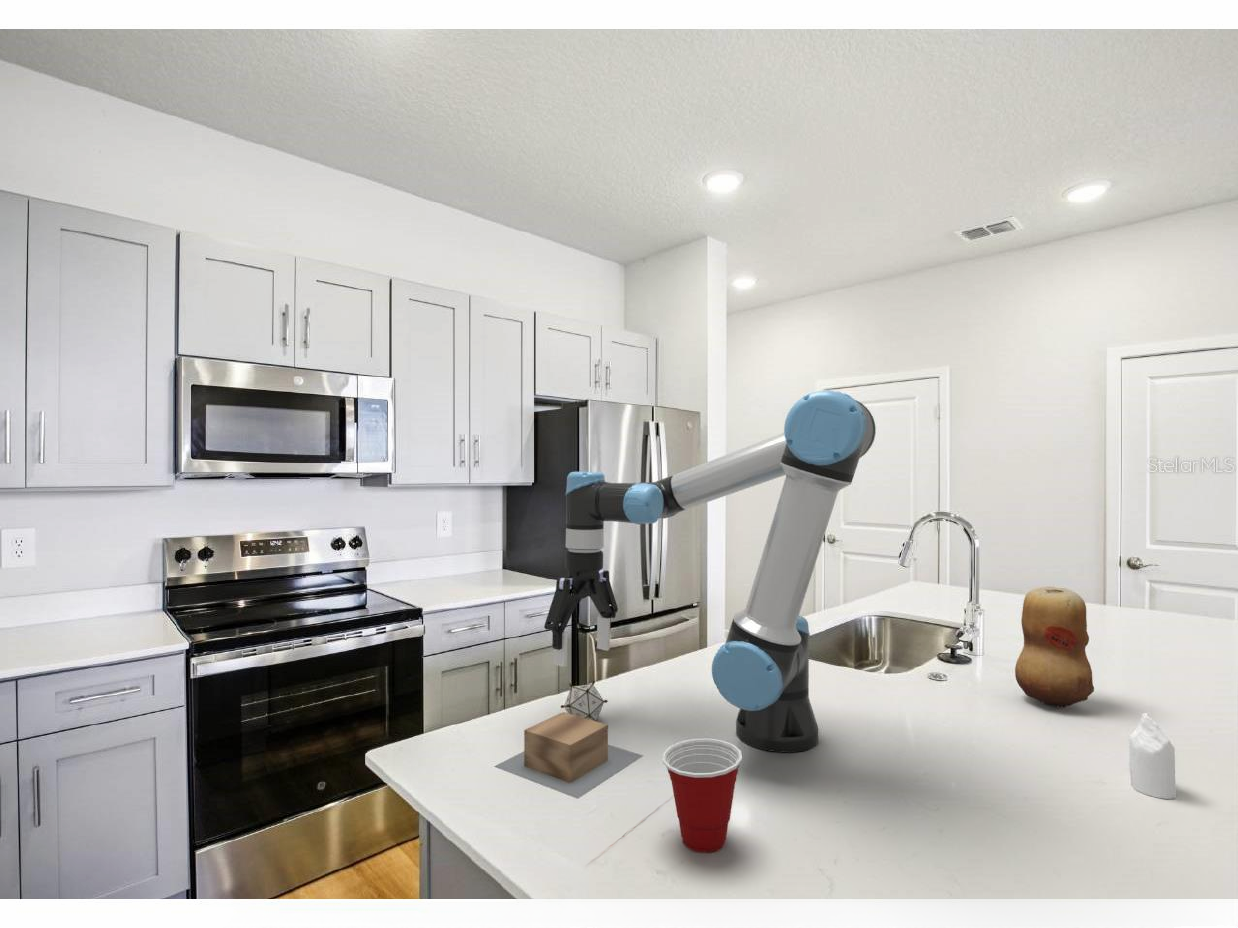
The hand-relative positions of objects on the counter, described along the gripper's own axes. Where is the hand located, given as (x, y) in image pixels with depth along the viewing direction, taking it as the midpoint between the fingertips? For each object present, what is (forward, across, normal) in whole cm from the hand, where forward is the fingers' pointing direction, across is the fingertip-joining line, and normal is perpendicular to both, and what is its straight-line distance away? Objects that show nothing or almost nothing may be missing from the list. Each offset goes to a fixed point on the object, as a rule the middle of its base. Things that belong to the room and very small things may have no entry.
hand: (582, 657), depth 128 cm
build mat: (+13, +15, +10) cm, 22 cm away
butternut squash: (+12, -67, +76) cm, 102 cm away
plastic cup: (+13, +22, +38) cm, 46 cm away
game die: (+13, 0, 0) cm, 13 cm away
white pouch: (+12, -32, +90) cm, 96 cm away
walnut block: (+12, +16, +10) cm, 22 cm away
